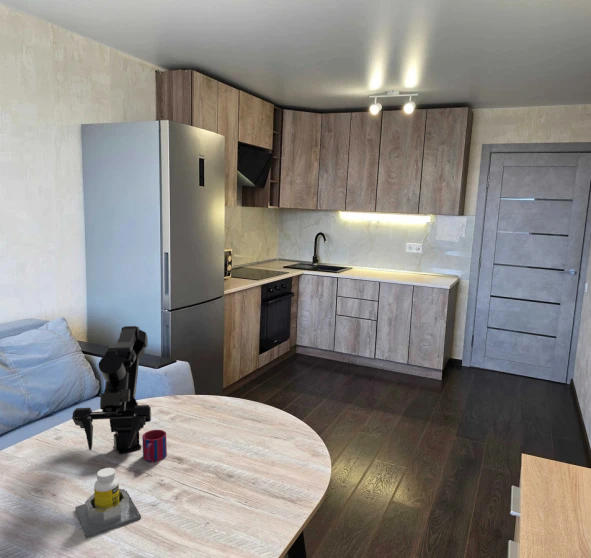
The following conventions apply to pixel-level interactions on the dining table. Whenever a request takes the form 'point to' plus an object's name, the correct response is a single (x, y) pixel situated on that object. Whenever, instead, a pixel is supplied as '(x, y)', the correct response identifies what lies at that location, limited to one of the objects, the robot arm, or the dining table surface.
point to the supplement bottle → (106, 489)
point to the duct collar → (106, 515)
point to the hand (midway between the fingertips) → (109, 448)
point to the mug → (154, 445)
